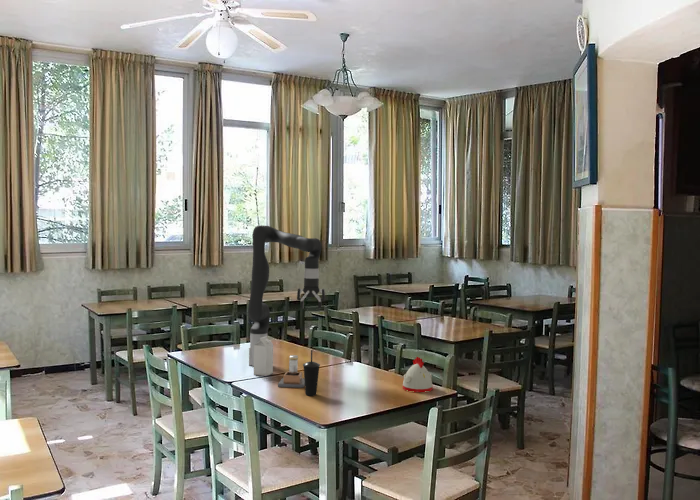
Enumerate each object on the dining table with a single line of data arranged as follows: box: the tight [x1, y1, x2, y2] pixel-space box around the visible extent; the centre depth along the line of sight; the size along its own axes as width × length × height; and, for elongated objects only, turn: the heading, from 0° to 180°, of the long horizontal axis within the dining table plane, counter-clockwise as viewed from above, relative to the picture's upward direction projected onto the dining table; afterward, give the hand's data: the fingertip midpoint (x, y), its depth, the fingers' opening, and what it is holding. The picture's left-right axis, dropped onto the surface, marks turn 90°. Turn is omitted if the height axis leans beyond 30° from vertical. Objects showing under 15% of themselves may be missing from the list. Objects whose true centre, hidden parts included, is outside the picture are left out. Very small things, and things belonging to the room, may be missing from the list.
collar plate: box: [277, 371, 305, 389], centre depth 298 cm, size 12×12×5 cm
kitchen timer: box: [402, 356, 433, 393], centre depth 294 cm, size 14×14×15 cm
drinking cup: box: [302, 349, 321, 397], centre depth 280 cm, size 8×8×20 cm
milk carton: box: [253, 335, 274, 377], centre depth 317 cm, size 7×7×19 cm
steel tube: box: [288, 354, 299, 376], centre depth 298 cm, size 4×4×12 cm
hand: (310, 308), depth 321 cm, fingers open, 8 cm apart
